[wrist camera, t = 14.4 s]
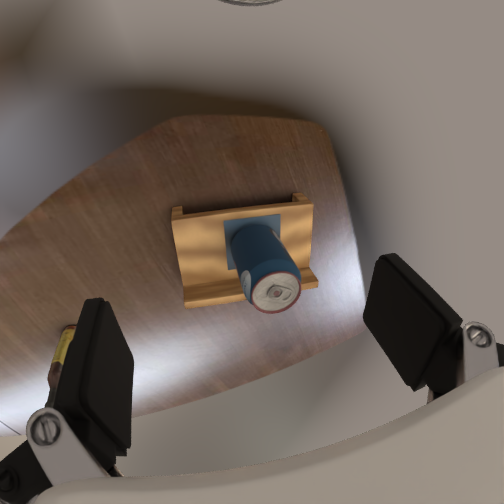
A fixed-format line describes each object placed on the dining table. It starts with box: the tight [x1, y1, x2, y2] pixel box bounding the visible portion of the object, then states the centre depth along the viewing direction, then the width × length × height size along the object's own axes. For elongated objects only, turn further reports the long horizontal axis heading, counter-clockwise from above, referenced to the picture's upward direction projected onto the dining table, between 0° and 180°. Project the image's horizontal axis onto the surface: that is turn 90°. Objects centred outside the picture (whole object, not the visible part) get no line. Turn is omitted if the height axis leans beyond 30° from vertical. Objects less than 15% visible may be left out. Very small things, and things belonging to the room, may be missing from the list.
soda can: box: [231, 225, 301, 314], centre depth 37 cm, size 7×7×12 cm
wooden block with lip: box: [171, 193, 319, 309], centre depth 43 cm, size 12×20×9 cm, turn 92°
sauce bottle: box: [45, 326, 77, 408], centre depth 42 cm, size 7×6×20 cm
